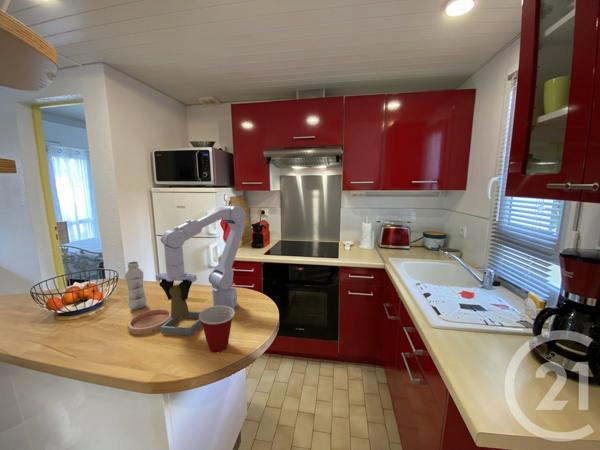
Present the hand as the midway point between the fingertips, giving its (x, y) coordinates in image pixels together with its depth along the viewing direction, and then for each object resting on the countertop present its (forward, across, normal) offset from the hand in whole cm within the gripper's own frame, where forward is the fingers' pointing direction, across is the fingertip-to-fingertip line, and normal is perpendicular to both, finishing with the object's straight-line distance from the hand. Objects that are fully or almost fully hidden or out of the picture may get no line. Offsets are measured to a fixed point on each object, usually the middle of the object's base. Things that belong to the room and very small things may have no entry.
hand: (178, 299), depth 87 cm
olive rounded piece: (+6, +1, 0) cm, 6 cm away
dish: (+10, -12, 0) cm, 16 cm away
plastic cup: (+11, +20, -10) cm, 25 cm away
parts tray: (+10, +2, 0) cm, 11 cm away
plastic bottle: (+11, -26, +10) cm, 30 cm away
